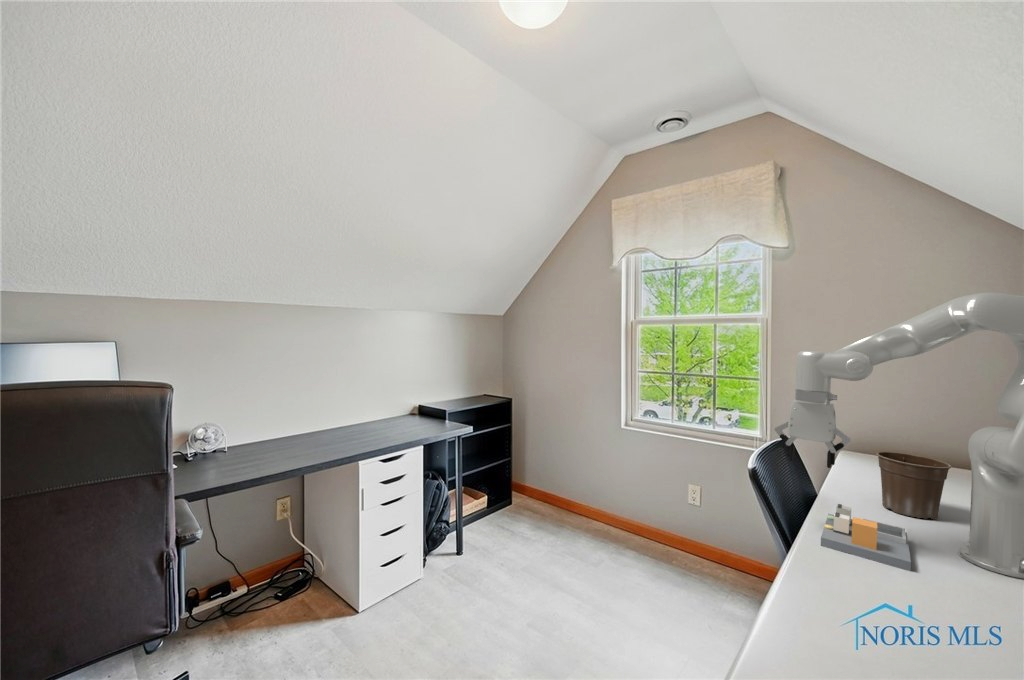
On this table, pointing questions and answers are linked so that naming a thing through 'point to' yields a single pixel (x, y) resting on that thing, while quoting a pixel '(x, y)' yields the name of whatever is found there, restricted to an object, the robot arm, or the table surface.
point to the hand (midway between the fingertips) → (809, 463)
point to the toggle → (844, 510)
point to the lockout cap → (864, 533)
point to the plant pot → (912, 483)
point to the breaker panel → (888, 548)
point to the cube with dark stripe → (841, 523)
